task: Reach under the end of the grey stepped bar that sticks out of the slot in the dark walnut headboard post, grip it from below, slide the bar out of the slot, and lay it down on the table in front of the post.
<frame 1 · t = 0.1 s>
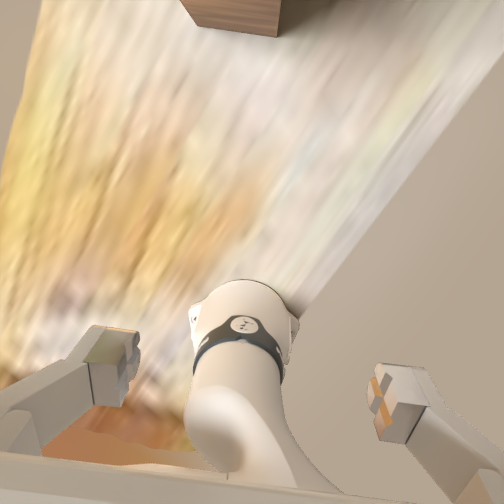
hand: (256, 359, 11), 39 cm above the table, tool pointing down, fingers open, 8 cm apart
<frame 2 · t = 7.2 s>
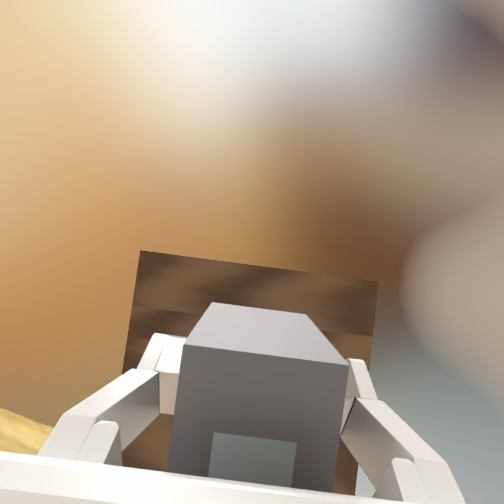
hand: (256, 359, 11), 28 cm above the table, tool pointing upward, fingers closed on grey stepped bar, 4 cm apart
grey stepped bar: (248, 372, 16), point 26 cm above the table, touching gripper, headboard post
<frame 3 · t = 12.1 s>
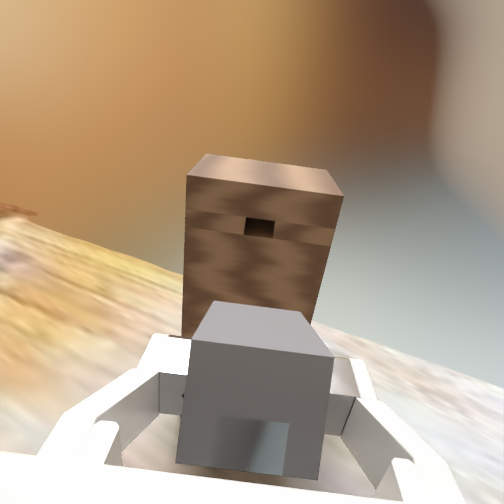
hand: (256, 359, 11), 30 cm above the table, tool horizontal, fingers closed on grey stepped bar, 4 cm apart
grey stepped bar: (247, 364, 17), point 26 cm above the table, tilted 26°, touching gripper
headboard post: (235, 384, 47), on the table
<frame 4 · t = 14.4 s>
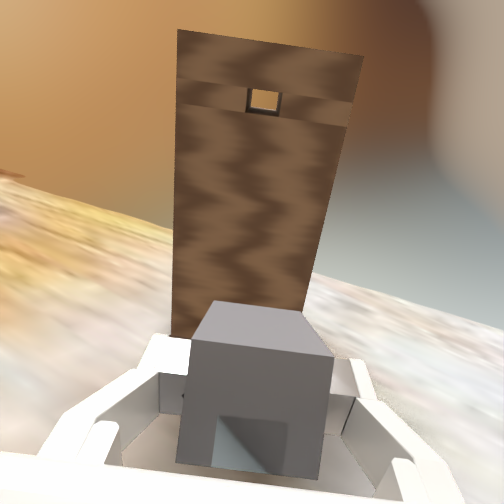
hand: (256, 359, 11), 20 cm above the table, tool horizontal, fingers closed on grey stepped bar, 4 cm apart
grey stepped bar: (247, 364, 17), point 15 cm above the table, tilted 25°, touching gripper
headboard post: (234, 326, 43), on the table
when the fingers open (10 cm above the table, at t = 16.6 s): grey stepped bar drops 5 cm, on the table.
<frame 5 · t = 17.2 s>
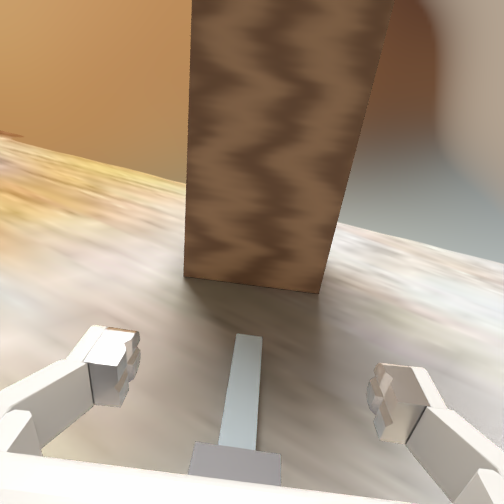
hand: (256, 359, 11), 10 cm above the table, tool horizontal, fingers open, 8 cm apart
grey stepped bar: (235, 450, 19), on the table
headboard post: (253, 261, 38), on the table
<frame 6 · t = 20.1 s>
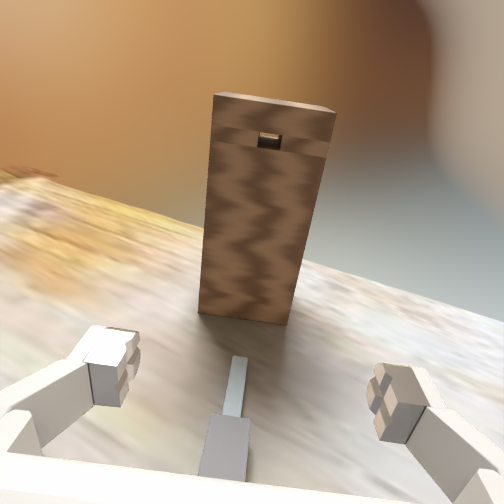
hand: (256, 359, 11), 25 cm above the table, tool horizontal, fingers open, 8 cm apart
grey stepped bar: (230, 419, 36), on the table
headboard post: (244, 299, 56), on the table
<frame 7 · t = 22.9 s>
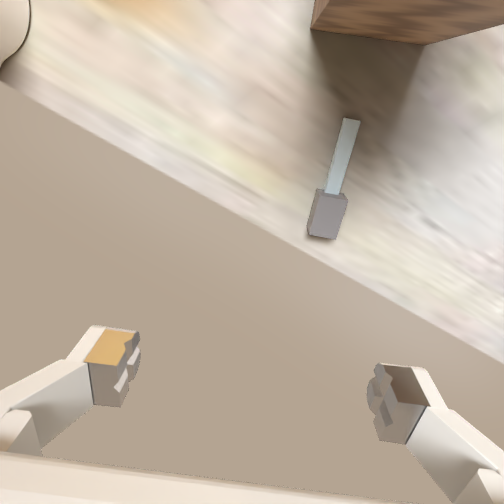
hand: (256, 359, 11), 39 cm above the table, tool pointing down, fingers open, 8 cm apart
grey stepped bar: (333, 177, 47), on the table
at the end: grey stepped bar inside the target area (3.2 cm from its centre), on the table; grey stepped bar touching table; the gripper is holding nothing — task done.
